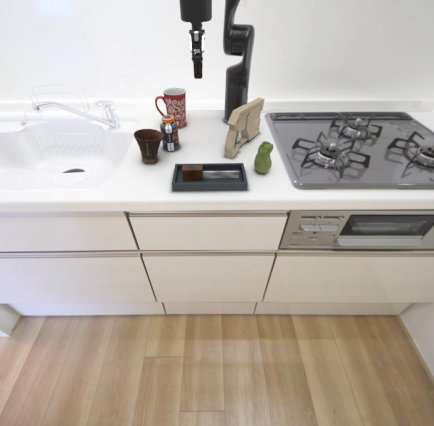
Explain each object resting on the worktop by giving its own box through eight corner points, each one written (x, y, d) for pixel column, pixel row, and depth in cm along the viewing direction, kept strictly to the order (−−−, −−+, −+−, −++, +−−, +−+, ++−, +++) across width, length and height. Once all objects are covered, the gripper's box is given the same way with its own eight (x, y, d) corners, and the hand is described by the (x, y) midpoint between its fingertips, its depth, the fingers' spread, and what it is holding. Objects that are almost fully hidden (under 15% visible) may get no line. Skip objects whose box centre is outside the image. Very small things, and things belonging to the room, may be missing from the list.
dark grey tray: (172, 191, 69) (171, 184, 67) (176, 170, 77) (175, 163, 75) (246, 190, 69) (247, 183, 67) (242, 169, 77) (243, 162, 75)
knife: (238, 175, 73) (239, 164, 71) (238, 180, 72) (240, 169, 69) (183, 176, 73) (182, 165, 71) (182, 181, 72) (181, 170, 69)
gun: (230, 160, 80) (236, 115, 71) (222, 158, 82) (226, 113, 72) (258, 138, 96) (265, 98, 87) (251, 136, 98) (257, 96, 88)
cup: (171, 160, 81) (168, 132, 74) (149, 170, 77) (143, 142, 70) (157, 150, 86) (152, 123, 79) (135, 160, 81) (128, 132, 74)
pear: (258, 164, 79) (263, 136, 72) (273, 170, 76) (279, 141, 69) (249, 172, 76) (253, 143, 69) (264, 178, 73) (270, 149, 66)
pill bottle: (176, 152, 85) (173, 121, 77) (161, 150, 86) (156, 120, 78) (181, 144, 89) (178, 114, 81) (166, 143, 90) (162, 112, 82)
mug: (187, 119, 105) (185, 86, 96) (188, 128, 99) (186, 94, 89) (158, 121, 104) (153, 88, 95) (158, 130, 98) (152, 95, 88)
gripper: (212, -4, 49) (212, 81, 61) (211, -9, 59) (211, 66, 71) (176, -4, 49) (183, 82, 61) (181, -8, 59) (186, 66, 71)
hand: (198, 73), depth 66 cm, fingers open, 8 cm apart
